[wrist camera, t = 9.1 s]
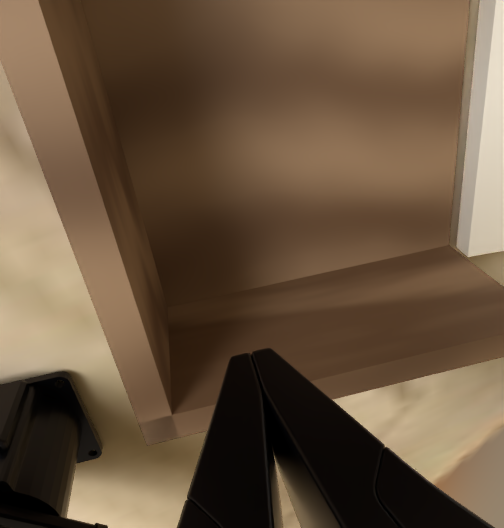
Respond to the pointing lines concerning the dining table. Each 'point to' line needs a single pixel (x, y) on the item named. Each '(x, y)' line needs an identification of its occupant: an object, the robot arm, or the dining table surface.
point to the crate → (257, 187)
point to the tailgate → (485, 140)
